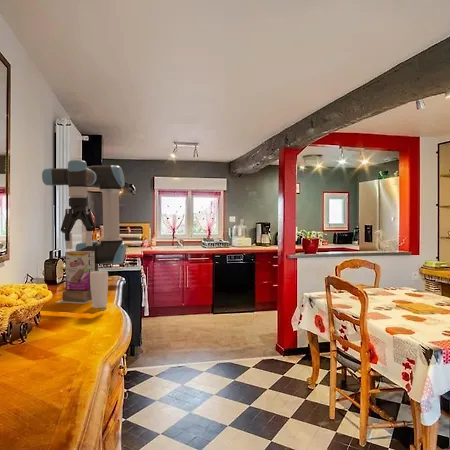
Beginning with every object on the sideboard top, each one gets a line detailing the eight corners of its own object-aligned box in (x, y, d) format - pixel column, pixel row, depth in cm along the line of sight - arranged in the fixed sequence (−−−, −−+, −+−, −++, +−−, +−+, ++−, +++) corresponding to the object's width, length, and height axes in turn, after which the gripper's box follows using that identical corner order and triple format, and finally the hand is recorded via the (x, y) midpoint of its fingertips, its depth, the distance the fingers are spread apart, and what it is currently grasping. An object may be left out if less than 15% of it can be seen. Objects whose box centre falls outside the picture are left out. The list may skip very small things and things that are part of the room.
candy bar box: (65, 290, 162) (64, 251, 162) (71, 288, 167) (70, 250, 167) (90, 291, 161) (89, 251, 160) (95, 288, 166) (95, 250, 165)
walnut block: (77, 296, 170) (77, 287, 170) (97, 297, 168) (97, 288, 168) (62, 301, 161) (62, 291, 161) (83, 302, 158) (83, 292, 158)
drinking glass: (89, 309, 152) (88, 271, 151) (107, 307, 155) (106, 270, 154) (91, 313, 146) (91, 273, 145) (110, 310, 149) (109, 272, 148)
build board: (76, 298, 173) (76, 294, 173) (104, 299, 169) (104, 296, 169) (55, 305, 159) (55, 301, 159) (84, 307, 156) (84, 303, 156)
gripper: (88, 198, 176) (89, 244, 177) (49, 196, 152) (51, 250, 153) (102, 198, 174) (104, 244, 175) (66, 196, 150) (67, 250, 151)
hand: (79, 247), depth 164 cm, fingers open, 13 cm apart
